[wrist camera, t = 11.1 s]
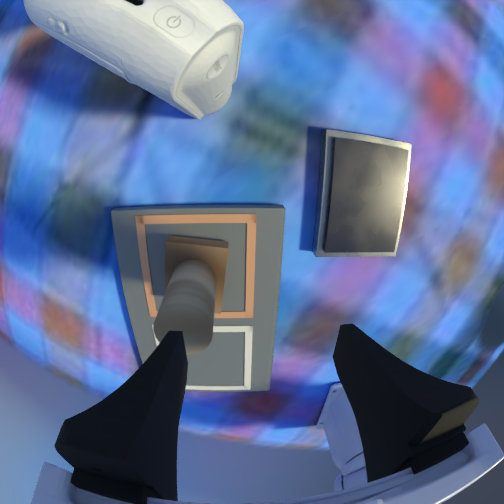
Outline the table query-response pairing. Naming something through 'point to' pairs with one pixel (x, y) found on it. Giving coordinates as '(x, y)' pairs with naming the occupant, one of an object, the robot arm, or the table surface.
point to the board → (234, 294)
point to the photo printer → (154, 44)
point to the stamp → (192, 290)
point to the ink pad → (360, 195)
